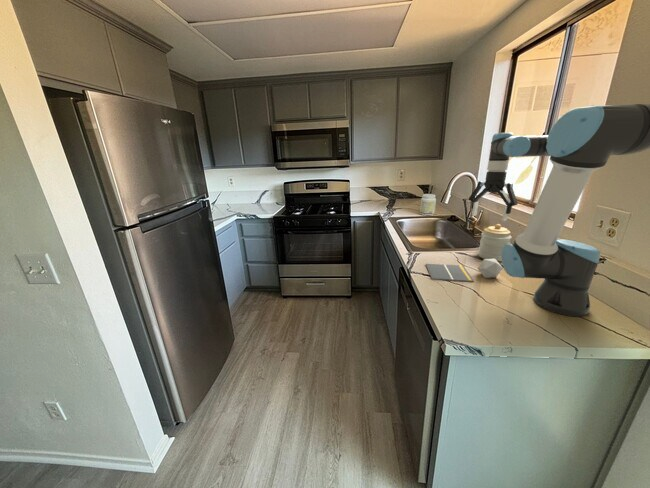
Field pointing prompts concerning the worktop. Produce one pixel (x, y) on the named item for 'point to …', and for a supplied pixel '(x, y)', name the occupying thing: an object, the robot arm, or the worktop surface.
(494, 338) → the worktop surface
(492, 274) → the die
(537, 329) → the worktop surface
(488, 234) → the jar
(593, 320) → the worktop surface
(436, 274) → the mat
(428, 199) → the supplement tub
